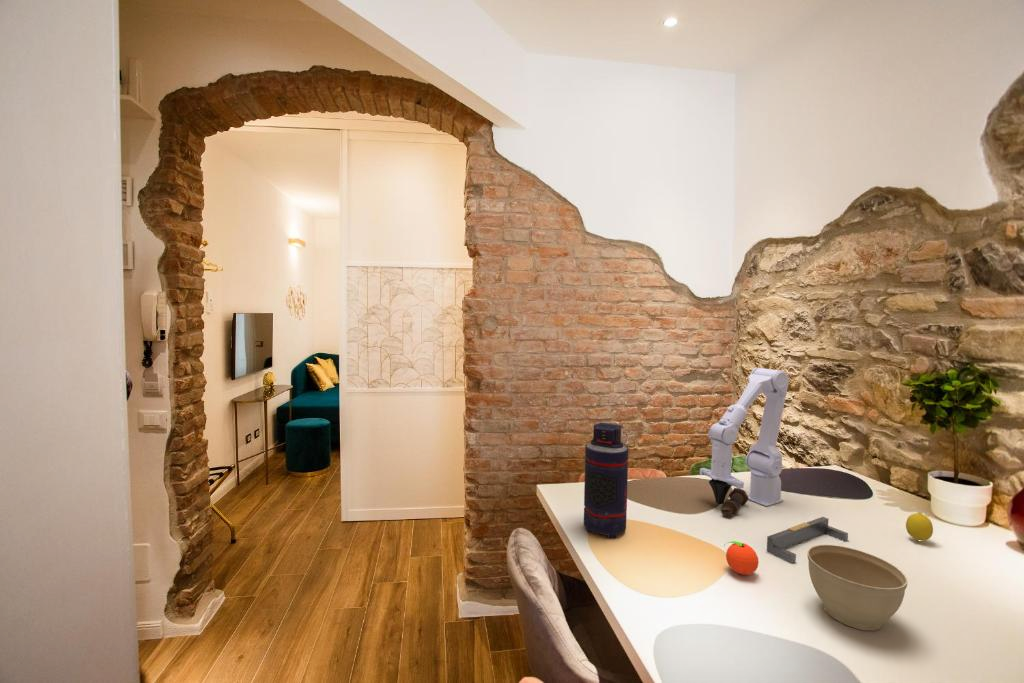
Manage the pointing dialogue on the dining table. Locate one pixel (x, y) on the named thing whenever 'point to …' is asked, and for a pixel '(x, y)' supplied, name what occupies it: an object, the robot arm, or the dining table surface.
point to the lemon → (919, 526)
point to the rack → (800, 537)
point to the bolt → (734, 502)
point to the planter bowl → (856, 585)
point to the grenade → (606, 481)
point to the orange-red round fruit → (742, 558)
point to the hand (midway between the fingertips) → (719, 503)
